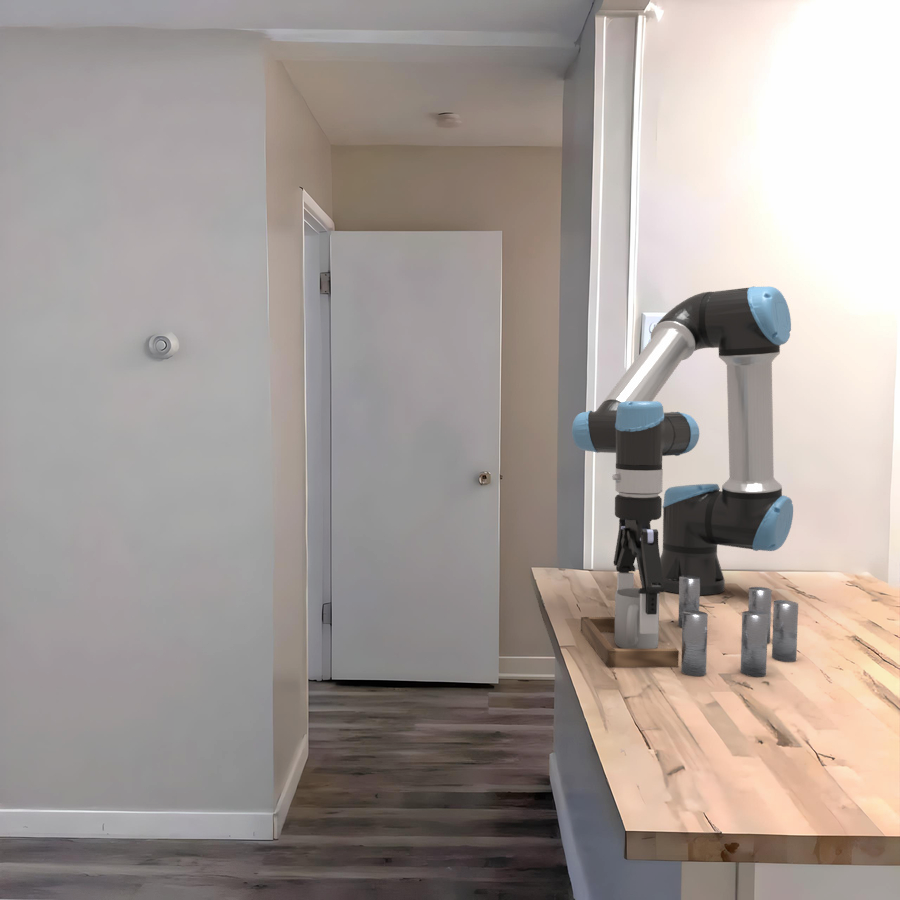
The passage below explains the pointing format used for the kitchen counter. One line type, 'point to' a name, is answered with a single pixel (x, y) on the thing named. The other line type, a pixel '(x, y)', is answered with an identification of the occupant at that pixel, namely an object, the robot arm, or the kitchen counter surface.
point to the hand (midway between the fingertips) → (636, 620)
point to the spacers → (752, 630)
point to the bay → (624, 657)
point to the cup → (631, 621)
